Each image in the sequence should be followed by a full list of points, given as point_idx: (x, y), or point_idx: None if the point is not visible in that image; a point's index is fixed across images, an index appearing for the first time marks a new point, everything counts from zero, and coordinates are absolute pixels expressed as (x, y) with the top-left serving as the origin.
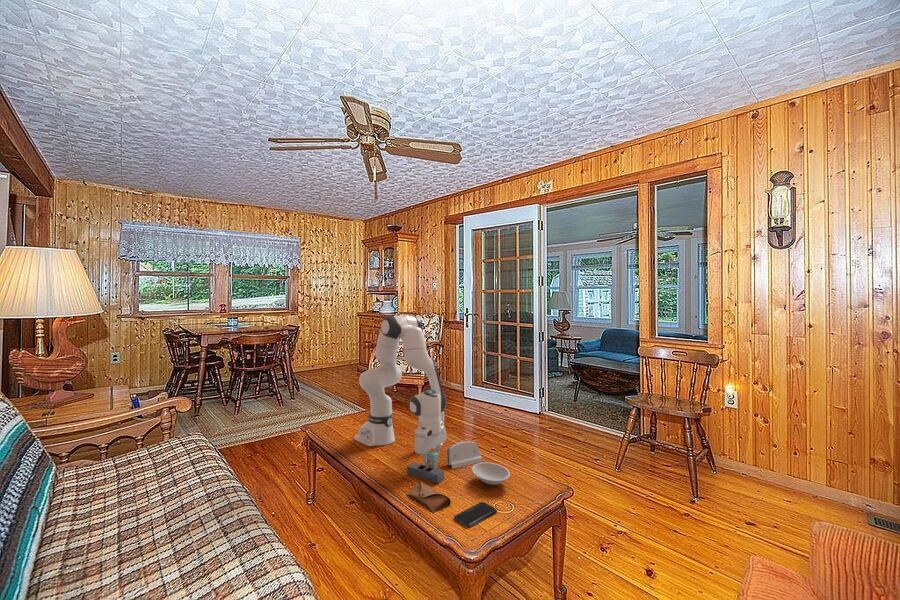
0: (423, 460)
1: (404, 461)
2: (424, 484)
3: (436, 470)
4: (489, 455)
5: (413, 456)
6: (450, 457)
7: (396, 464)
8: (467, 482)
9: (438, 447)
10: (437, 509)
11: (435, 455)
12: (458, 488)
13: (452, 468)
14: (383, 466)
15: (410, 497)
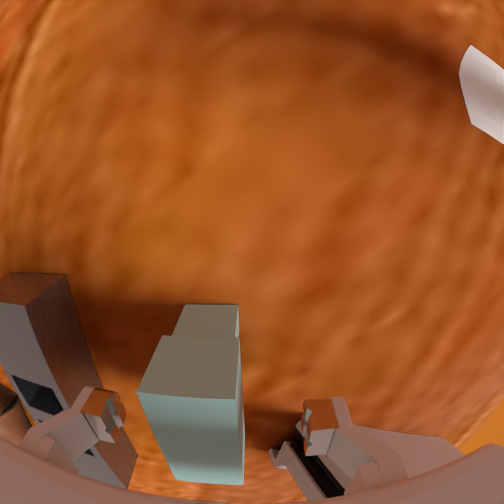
0: (85, 388)
1: (140, 66)
2: (7, 438)
3: (95, 467)
4: (463, 443)
5: (301, 57)
6: (298, 485)
7: (61, 69)
8: (192, 500)
9: (351, 468)
10: None
11: (191, 476)
12: (135, 488)
13: (268, 452)
14: (12, 44)
15: None
